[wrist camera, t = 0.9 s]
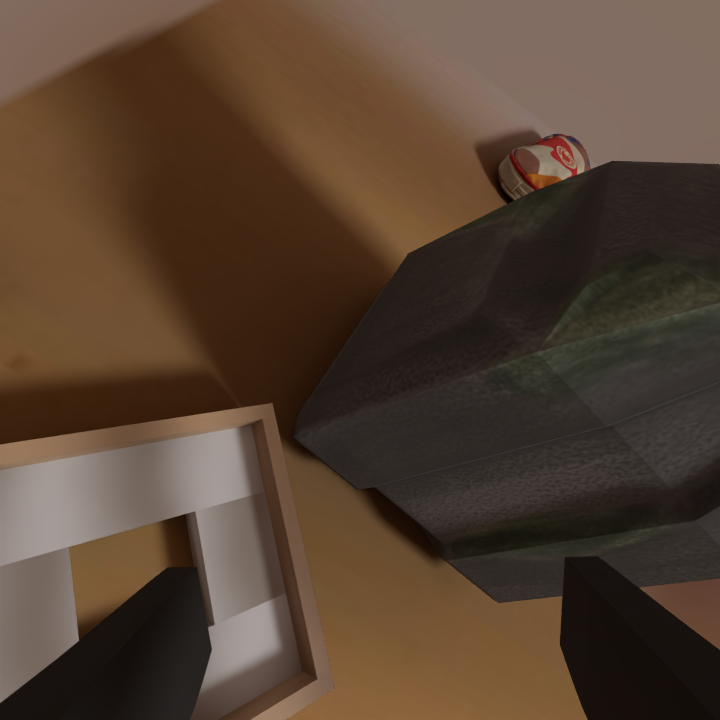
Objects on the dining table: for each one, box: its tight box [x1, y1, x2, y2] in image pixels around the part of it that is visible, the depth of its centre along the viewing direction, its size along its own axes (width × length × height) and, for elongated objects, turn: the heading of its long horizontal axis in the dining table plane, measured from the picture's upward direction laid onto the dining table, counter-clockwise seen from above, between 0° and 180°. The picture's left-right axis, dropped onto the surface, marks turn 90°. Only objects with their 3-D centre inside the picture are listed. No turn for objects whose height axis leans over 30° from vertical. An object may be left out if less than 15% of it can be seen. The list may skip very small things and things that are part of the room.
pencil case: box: [498, 134, 591, 201], centre depth 54 cm, size 11×20×5 cm, turn 118°
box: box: [0, 403, 335, 720], centre depth 18 cm, size 13×13×4 cm
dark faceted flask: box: [292, 161, 720, 603], centre depth 20 cm, size 18×16×30 cm
